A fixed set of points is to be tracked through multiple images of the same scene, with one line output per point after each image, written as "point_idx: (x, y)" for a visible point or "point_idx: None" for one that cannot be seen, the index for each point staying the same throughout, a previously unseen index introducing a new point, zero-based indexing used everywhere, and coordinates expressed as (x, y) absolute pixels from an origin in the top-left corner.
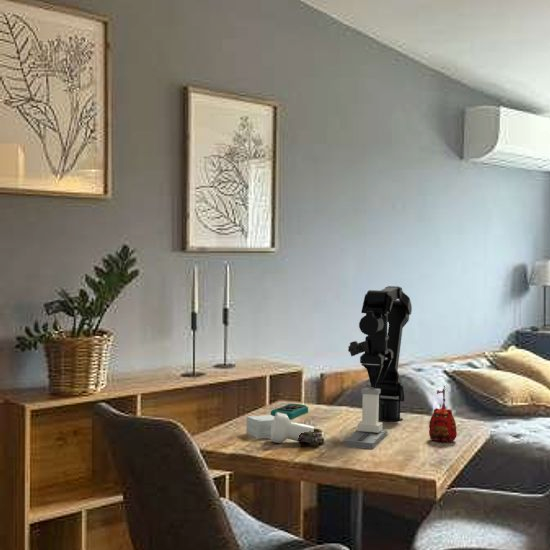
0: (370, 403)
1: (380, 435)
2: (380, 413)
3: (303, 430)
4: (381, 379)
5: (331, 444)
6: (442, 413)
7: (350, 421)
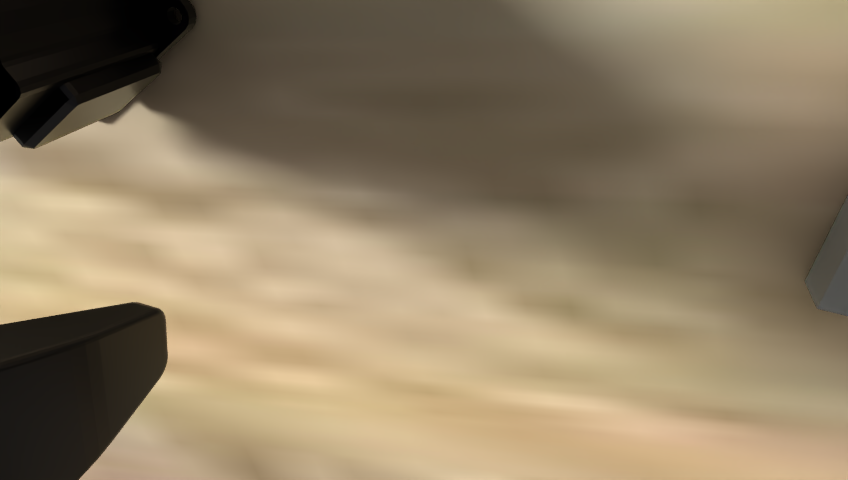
0: None
1: None
2: (122, 92)
3: None
4: (107, 358)
5: None
6: None
7: (296, 316)
